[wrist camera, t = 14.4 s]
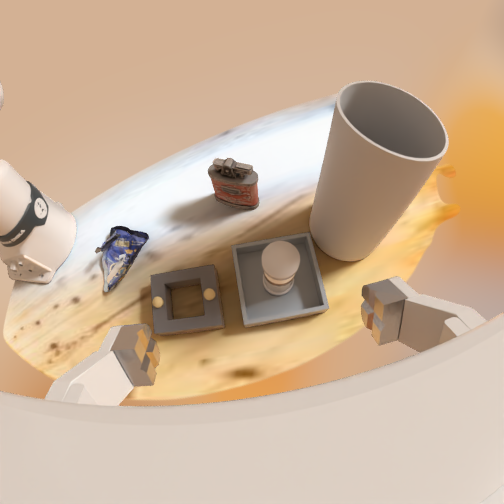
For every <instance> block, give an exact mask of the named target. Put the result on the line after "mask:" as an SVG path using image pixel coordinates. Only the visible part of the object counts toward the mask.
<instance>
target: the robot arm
mask: <svg viewBox="0 0 504 504" xmlns="http://www.w3.org/2000/svg"><path fill="white" fill-rule="evenodd" d="M3 101H4V94H3V88H2V85H1V82H0V109H1V107H2V106H3ZM76 232H77V226H76V221H75V218H74V216H73V215H72V214H71V213H69V212H67V211H66V210H64V207H63V205H62V204H61V203H59V202H56V203H55V202H54V201H53V200H51V199H50V198H49V197H47V196H46V195H45V194H43V193H42V192H41V191H39V190H38V189H37V188H36V187H35V186H34V185H33V184H31V183H30V182H29V181H25V180H24V179H23V178H22V177H21V176H20V174H19V173H18V172H17V171H16V170H15V169H13V167H12V166H11V165H10V164H9V163H8V162H7V161H4V160H1V159H0V257H1V260H2V261H3V262H4V263H5V264H6V265H8V274H9V277H10V278H11V279H13V280H20V281H28V282H37V283H49V282H50V281H51V279H52V278H53V276H54V274H55V272H56V270H57V269H58V268H59V267H60V266H61V265H62V263H63V262H64V261H65V260H66V258H67V257H68V255H69V254H70V252H71V250H72V248H73V245H74V242H75V238H76ZM362 296H363V298H364V299H365V300H364V302H363V303H362V305H361V315H362V320H363V322H364V325H365V326H366V328H368V329H370V330H372V337H373V338H374V339H375V341H376V342H377V344H378V345H383V344H386V343H390V342H393V341H396V340H398V341H399V342H401V343H403V344H405V345H407V346H409V347H410V348H412V349H414V350H416V351H418V352H420V353H418V354H415V355H413V356H410V357H407V358H405V359H402V360H399V361H396V362H394V363H391V364H388V365H385V366H382V367H379V368H376V369H373V370H370V371H367V372H363V373H360V374H357V375H353V376H349V377H346V378H342V379H339V380H335V381H331V382H327V383H323V384H319V385H315V386H310V387H307V388H302V389H297V390H292V391H287V392H282V393H277V394H271V395H265V396H259V397H253V398H246V399H239V400H232V401H223V402H213V403H203V404H192V405H173V406H118V405H119V404H120V403H121V401H122V400H123V399H124V398H125V397H126V396H127V395H128V394H129V392H130V391H131V390H132V389H133V388H134V387H135V386H151V385H154V381H155V377H156V371H155V368H156V367H157V366H158V365H159V361H160V352H159V348H158V345H157V343H156V341H155V340H153V339H152V338H151V334H152V331H151V329H150V327H149V325H148V324H146V323H145V324H134V325H124V326H123V325H121V326H113V327H111V328H110V330H109V332H108V334H107V335H106V337H105V339H104V341H103V343H102V345H101V347H100V349H99V351H98V352H94V353H92V354H91V355H90V356H88V357H87V358H85V359H84V360H83V361H81V362H80V363H79V364H77V365H76V366H74V367H73V368H72V369H70V370H69V371H67V372H66V373H65V374H63V375H62V376H61V377H59V378H58V379H56V380H55V381H54V382H53V384H52V386H51V388H50V390H49V391H48V393H47V395H46V397H45V399H39V398H33V397H27V396H22V395H17V394H12V393H7V392H3V391H0V504H504V312H503V313H501V314H500V315H498V316H496V317H494V318H492V319H491V320H489V321H486V320H485V319H484V318H483V317H482V316H480V315H479V314H478V313H477V312H476V311H475V310H474V309H473V308H470V307H467V306H463V305H460V304H456V303H453V302H449V301H445V300H442V299H438V298H435V297H431V296H428V295H424V294H421V295H419V294H418V293H417V292H416V291H414V290H413V289H412V288H411V287H410V286H409V285H408V284H407V283H406V282H405V281H403V280H402V279H401V278H400V277H397V276H396V277H393V278H389V279H386V280H383V281H379V282H375V283H372V284H368V285H364V286H363V288H362Z"/></svg>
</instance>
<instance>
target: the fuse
mask: <svg viewBox="0 0 504 504" xmlns="http://www.w3.org/2000/svg"><path fill="white" fill-rule="evenodd" d="M299 263H300V255H299V252H298V250H297V249H296V247H295V246H294V245H292V244H291V243H289V242H286V241H275V242H272V243H270V244H269V245H268V246H267V247H266V248H265V249H264V251H263V253H262V267H263V273H264V274H263V286H264V288H265V290H266V291H267V292H268V293H269V294H271V295H273V296H283V295H286V294H287V293H288V292H289V291H290V290H291V289H292V287H293V283H294V276H295V273H296V272H297V270H298V267H299Z"/></svg>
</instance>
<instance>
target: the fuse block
mask: <svg viewBox="0 0 504 504" xmlns="http://www.w3.org/2000/svg"><path fill="white" fill-rule="evenodd" d="M199 284H201V288H202V297H203V305H204V313H205V315H203V316H196V317H189V318H182V319H175V320H173V311H172V300H171V289H175V288H181V287H187V286H193V285H199ZM151 295H152V310H153V323H154V334H157V335H160V336H167V335H175V334H183V333H191V332H199V331H206V330H213V329H220V328H225V324H224V317H223V311H222V304H221V297H220V290H219V282H218V275H217V270H216V268H215V266H214V264H213V265H207V266H202V267H196V268H190V269H184V270H178V271H173V272H167V273H161V274H155V275H151Z"/></svg>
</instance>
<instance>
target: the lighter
mask: <svg viewBox="0 0 504 504" xmlns="http://www.w3.org/2000/svg"><path fill="white" fill-rule="evenodd" d="M208 174H209V176H210V178H211V180H212V184H213V187H214V191H215V198H216V200H217V201H218V202H221V203H223V204H225V205H228V206H231V207H234V208H240V209H248V210H254V209H256V208H257V207H258V206H259V198H258V189H257V182H258V174H257V173H256V172H255V171H253V166H252V165H248V164H243V163H238V162H236V161H234V160H233V159H232V158H227V159H225V160H223V159H218V158H216V159H214V161H213V165H211V166H210V167H209V169H208Z"/></svg>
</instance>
